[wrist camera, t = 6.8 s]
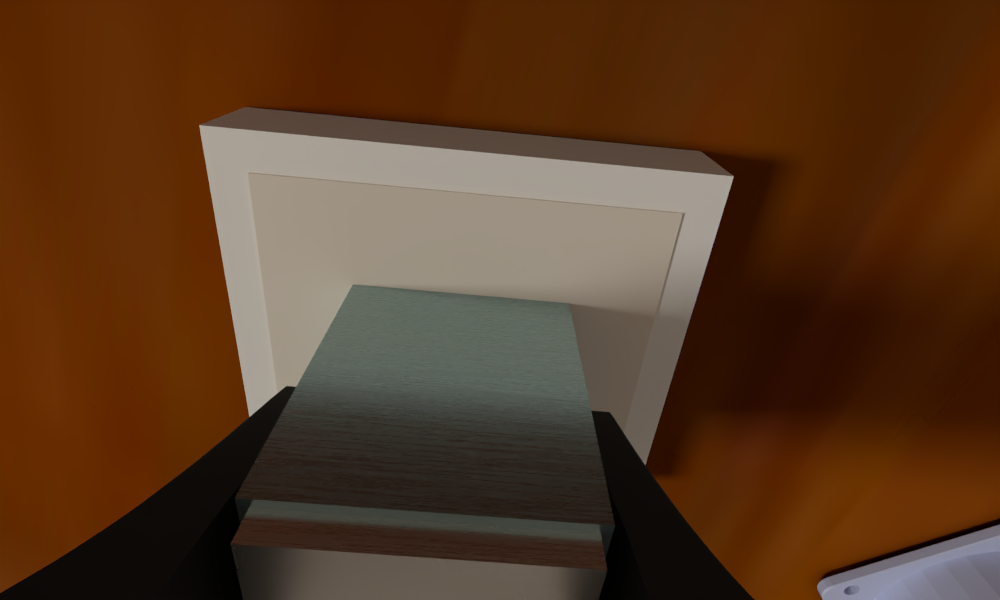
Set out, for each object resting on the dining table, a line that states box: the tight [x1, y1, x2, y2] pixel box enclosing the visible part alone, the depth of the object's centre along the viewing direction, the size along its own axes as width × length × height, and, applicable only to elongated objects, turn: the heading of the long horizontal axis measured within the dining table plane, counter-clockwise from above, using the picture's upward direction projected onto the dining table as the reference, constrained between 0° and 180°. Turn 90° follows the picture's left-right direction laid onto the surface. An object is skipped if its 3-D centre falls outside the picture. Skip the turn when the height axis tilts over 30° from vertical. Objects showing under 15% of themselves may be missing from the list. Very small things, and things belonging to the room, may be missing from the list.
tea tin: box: [231, 284, 615, 600], centre depth 10 cm, size 5×5×6 cm
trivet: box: [199, 107, 734, 465], centre depth 13 cm, size 10×10×2 cm
